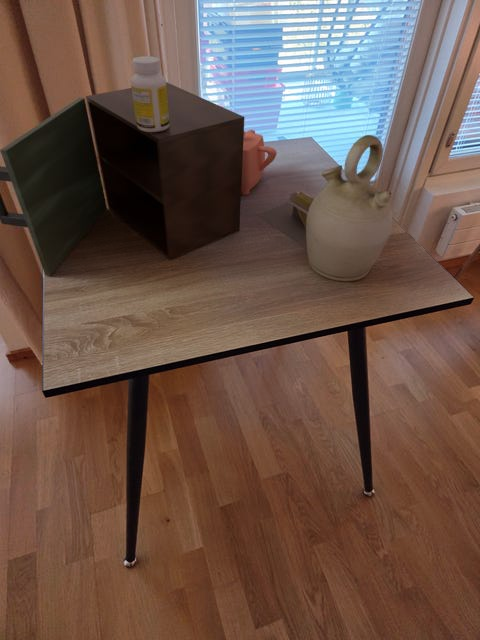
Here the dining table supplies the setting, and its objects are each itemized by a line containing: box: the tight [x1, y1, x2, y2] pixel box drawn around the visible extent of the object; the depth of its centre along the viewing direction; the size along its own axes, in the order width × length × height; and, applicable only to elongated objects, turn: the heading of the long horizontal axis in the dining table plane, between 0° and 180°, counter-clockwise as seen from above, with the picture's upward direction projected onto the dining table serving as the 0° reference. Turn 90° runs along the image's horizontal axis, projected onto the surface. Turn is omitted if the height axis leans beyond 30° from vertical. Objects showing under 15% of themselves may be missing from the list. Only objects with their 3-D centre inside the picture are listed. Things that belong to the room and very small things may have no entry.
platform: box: [256, 190, 315, 251], centre depth 92 cm, size 12×18×7 cm, turn 37°
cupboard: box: [85, 81, 245, 261], centre depth 85 cm, size 18×26×24 cm
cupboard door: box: [0, 97, 108, 277], centre depth 78 cm, size 8×26×23 cm, turn 169°
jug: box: [306, 134, 393, 282], centre depth 75 cm, size 15×16×25 cm
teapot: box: [241, 129, 277, 196], centre depth 102 cm, size 17×16×13 cm
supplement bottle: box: [130, 55, 169, 132], centre depth 66 cm, size 5×5×10 cm
